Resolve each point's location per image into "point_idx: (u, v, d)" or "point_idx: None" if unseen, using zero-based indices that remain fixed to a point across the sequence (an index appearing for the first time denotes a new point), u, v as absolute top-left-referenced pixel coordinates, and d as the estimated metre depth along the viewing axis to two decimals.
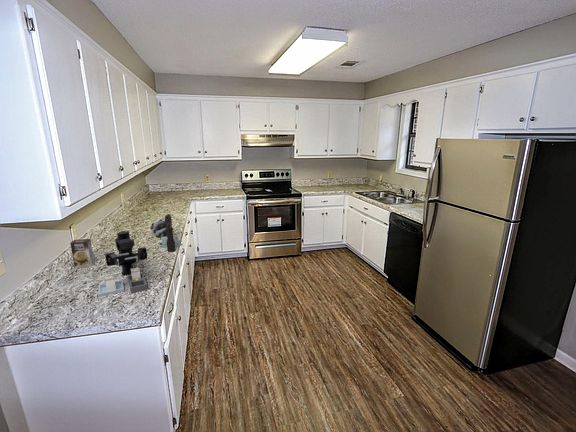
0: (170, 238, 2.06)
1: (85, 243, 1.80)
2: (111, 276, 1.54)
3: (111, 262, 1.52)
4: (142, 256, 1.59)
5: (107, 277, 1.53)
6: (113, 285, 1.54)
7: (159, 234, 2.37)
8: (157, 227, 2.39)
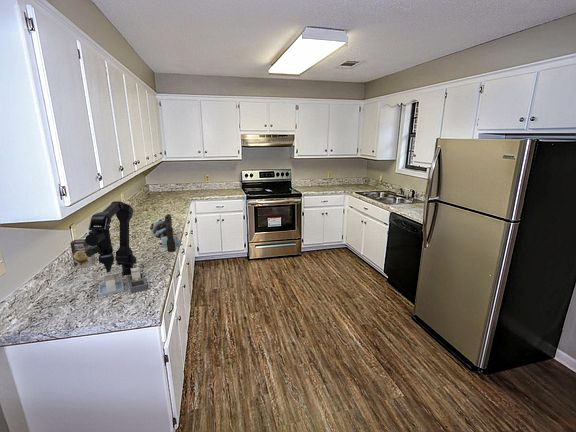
0: (170, 238, 2.06)
1: (85, 243, 1.80)
2: (111, 276, 1.54)
3: None
4: None
5: (107, 277, 1.53)
6: (113, 285, 1.54)
7: (159, 234, 2.36)
8: (157, 227, 2.39)
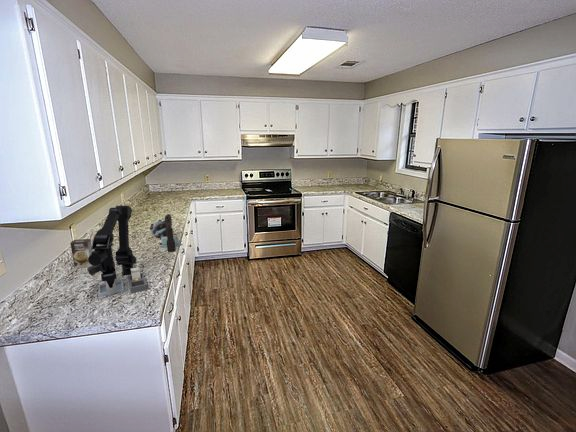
0: (170, 238, 2.06)
1: (85, 243, 1.80)
2: None
3: None
4: None
5: None
6: (113, 285, 1.54)
7: (159, 234, 2.36)
8: (157, 227, 2.38)
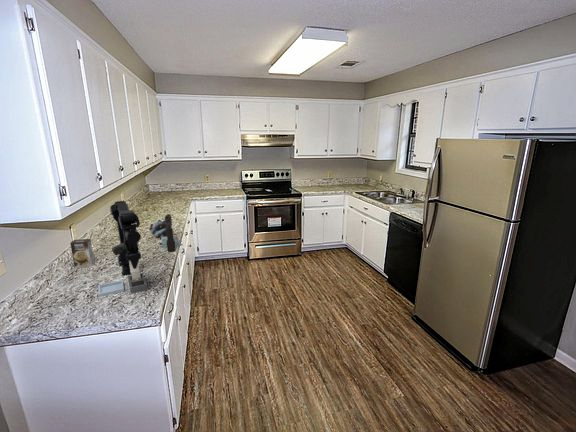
0: (170, 238, 2.06)
1: (85, 243, 1.80)
2: None
3: None
4: None
5: None
6: (137, 266, 1.52)
7: (158, 235, 2.35)
8: (156, 228, 2.37)
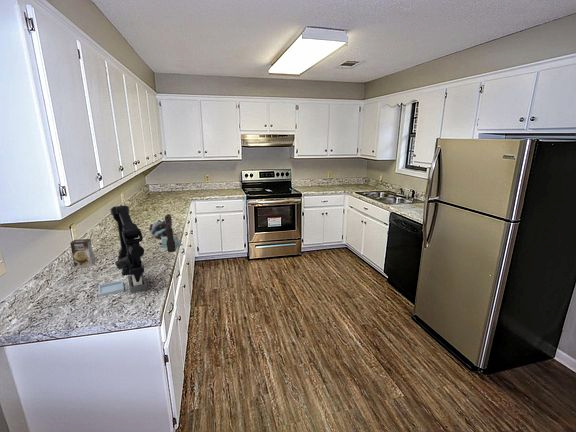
0: (170, 238, 2.06)
1: (85, 243, 1.80)
2: None
3: None
4: None
5: None
6: (140, 279, 1.54)
7: (158, 235, 2.35)
8: (156, 228, 2.37)
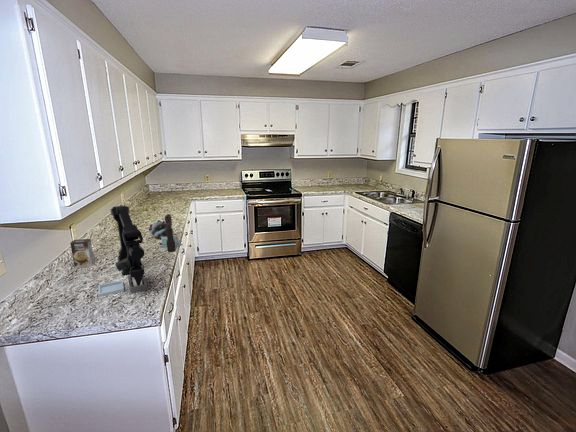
0: (170, 238, 2.06)
1: (85, 243, 1.80)
2: None
3: None
4: None
5: None
6: (140, 283, 1.55)
7: (158, 235, 2.34)
8: (156, 228, 2.36)
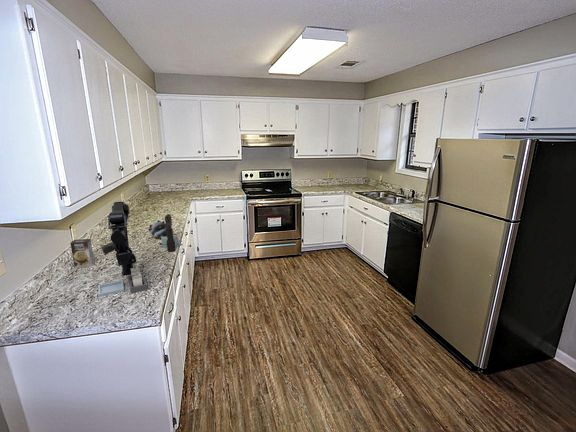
0: (170, 238, 2.06)
1: (85, 243, 1.80)
2: (138, 274, 1.55)
3: None
4: None
5: (134, 275, 1.54)
6: (140, 283, 1.55)
7: (158, 235, 2.34)
8: (156, 228, 2.36)
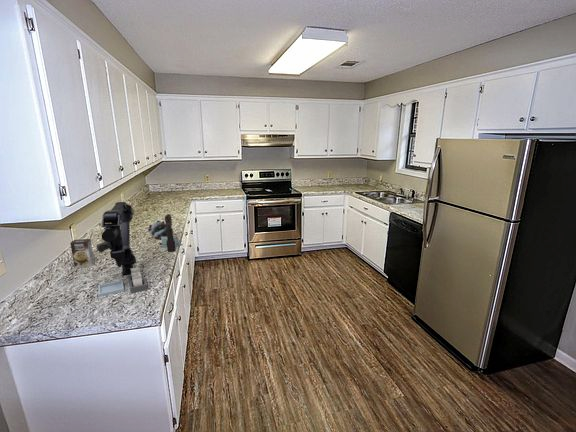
0: (170, 238, 2.06)
1: (85, 243, 1.80)
2: (138, 274, 1.55)
3: None
4: None
5: (134, 275, 1.54)
6: (140, 283, 1.55)
7: (158, 236, 2.33)
8: (155, 228, 2.35)
